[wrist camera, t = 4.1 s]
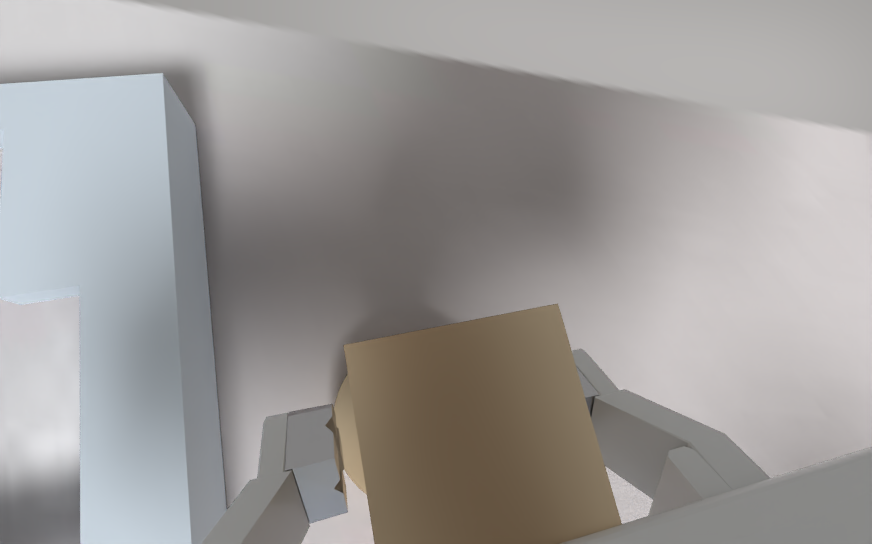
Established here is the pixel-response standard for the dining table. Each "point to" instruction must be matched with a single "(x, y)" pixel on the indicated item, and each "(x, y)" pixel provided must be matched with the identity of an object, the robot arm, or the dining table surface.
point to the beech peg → (474, 434)
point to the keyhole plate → (121, 292)
